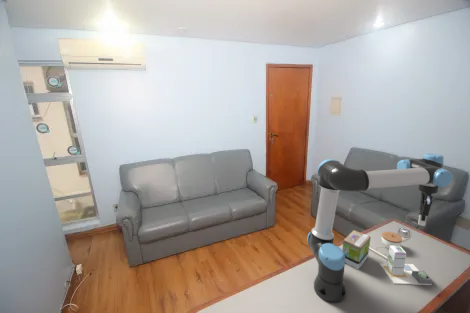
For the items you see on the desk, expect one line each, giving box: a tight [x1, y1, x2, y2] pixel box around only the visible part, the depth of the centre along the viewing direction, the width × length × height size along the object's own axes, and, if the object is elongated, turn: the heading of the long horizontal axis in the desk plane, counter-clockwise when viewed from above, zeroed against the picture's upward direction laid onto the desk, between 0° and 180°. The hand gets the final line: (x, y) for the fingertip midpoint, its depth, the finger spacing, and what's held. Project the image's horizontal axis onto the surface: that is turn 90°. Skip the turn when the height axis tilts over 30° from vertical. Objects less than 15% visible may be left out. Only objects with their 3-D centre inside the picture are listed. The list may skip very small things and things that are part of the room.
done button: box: [417, 271, 428, 278], centre depth 115 cm, size 4×4×3 cm
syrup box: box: [386, 245, 407, 276], centre depth 119 cm, size 6×6×14 cm
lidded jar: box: [381, 231, 403, 250], centre depth 140 cm, size 11×11×9 cm
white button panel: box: [379, 263, 433, 286], centre depth 119 cm, size 18×14×3 cm
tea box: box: [341, 229, 371, 270], centre depth 130 cm, size 15×10×15 cm, turn 131°
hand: (421, 224), depth 118 cm, fingers closed
